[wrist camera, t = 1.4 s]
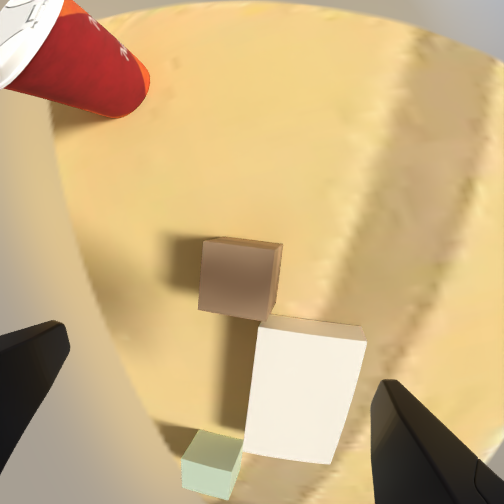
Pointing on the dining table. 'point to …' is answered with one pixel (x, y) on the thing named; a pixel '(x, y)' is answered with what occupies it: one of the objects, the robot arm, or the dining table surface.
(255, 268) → the walnut cube
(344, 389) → the base slab
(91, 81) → the paper cup
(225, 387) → the dining table surface
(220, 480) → the sage cube
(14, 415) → the robot arm
